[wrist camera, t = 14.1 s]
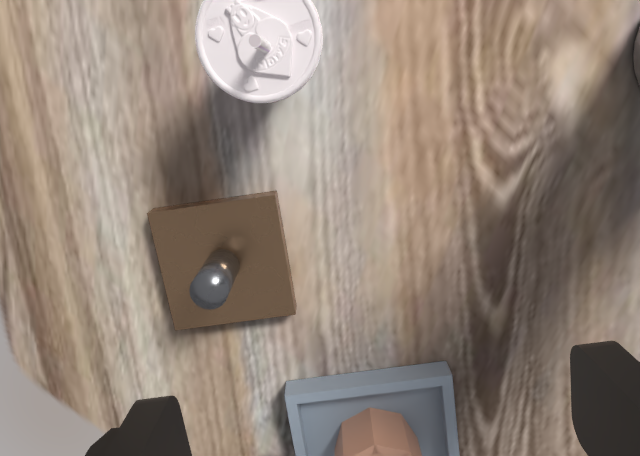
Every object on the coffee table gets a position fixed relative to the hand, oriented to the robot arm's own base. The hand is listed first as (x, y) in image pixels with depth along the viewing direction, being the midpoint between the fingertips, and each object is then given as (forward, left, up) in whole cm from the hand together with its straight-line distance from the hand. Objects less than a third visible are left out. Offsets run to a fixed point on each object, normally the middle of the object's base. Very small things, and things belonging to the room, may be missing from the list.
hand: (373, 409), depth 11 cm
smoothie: (+3, -9, -28) cm, 30 cm away
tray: (0, +22, -28) cm, 36 cm away
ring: (0, +22, -28) cm, 35 cm away
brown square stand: (+9, +5, -28) cm, 30 cm away
